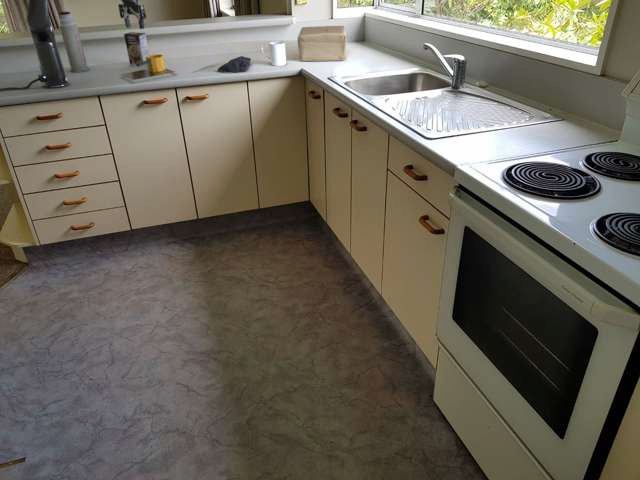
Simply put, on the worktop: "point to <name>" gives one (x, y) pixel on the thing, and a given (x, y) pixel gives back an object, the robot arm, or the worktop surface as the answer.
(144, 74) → the board
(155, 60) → the pot
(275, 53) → the mug
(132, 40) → the coffee box
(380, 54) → the worktop surface
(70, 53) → the thermos bottle
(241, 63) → the dark slate chunk
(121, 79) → the worktop surface
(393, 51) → the worktop surface
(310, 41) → the paper package
